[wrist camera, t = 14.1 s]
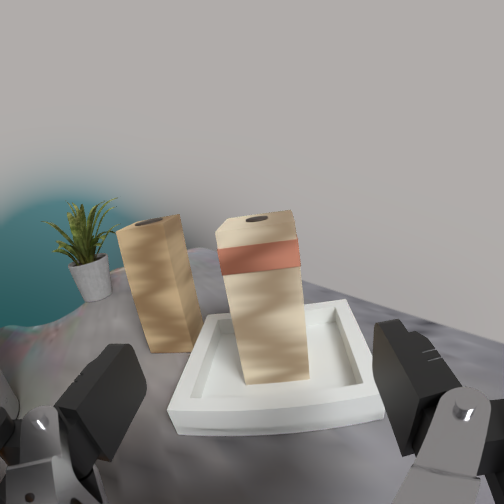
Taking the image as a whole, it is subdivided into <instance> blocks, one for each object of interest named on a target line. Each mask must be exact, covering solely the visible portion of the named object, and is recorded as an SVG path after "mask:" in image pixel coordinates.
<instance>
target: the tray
mask: <svg viewBox="0 0 504 504" xmlns="http://www.w3.org/2000/svg"><path fill="white" fill-rule="evenodd" d="M304 312H305V323H306V335H307V347H308V360H309V375H310V379H308V380H299V381H290V382H279V383H267V384H252V385H246V383H245V379H244V374H243V370H242V365H241V361H240V356H239V351H238V347H237V342H236V337H235V332H234V327H233V323H232V318H231V313H222V314H210V315H208V316H207V318H206V320H205V322H204V325H203V327H202V329H201V332H200V334H199V336H198V339H197V341H196V343H195V345H194V348H193V350H192V352H191V355H190V357H189V359H188V362H187V364H186V366H185V369H184V371H183V373H182V376H181V378H180V380H179V383H178V385H177V387H176V390H175V392H174V394H173V397H172V399H171V401H170V404H169V406H168V408H167V412H168V414H169V416H170V418H171V420H172V423H173V425H174V427H175V429H176V431H177V433H178V435H196V436H255V435H274V434H287V433H298V432H307V431H316V430H324V429H331V428H337V427H344V426H350V425H355V424H361V423H366V422H371V421H376V420H380V419H383V418H384V412H385V407H384V404H383V402H382V399H381V396H380V394H379V391H378V389H377V386H376V384H375V381H374V377H373V371H372V358H373V357H372V354H371V352H370V350H369V348H368V346H367V343H366V341H365V339H364V337H363V335H362V332H361V330H360V328H359V326H358V324H357V322H356V320H355V317H354V315H353V313H352V311H351V309H350V307H349V305H348V303H347V301H346V299H343V300H336V301H328V302H321V303H314V304H306V305H304Z"/></svg>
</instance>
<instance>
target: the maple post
mask: <svg viewBox="0 0 504 504" xmlns="http://www.w3.org/2000/svg"><path fill="white" fill-rule="evenodd" d="M215 234H216V240H217V245H218V249H217V251H218V257H219V262H220V267H221V272H222V276H223V277H224V282H225V288H226V293H227V298H228V303H229V308H230V313H231V318H232V323H233V327H234V332H235V337H236V342H237V347H238V351H239V356H240V361H241V365H242V370H243V374H244V379H245V383H246V385H252V384H267V383H279V382H290V381H299V380H308V379H310V375H309V360H308V347H307V335H306V323H305V312H304V301H303V291H302V281H301V272H300V266H301V263H300V255H299V245H298V238H297V234H296V228H295V221H294V218H293V215H292V211H291V210H286V211H278V212H271V213H263V214H257V215H249V216H241V217H235V218H228V219H227V220H226V221H225V222H224V223H223V224H222V225H221V226H220V227H219V228H218V230H217V231H216V232H215Z"/></svg>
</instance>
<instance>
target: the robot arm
mask: <svg viewBox="0 0 504 504" xmlns="http://www.w3.org/2000/svg"><path fill="white" fill-rule="evenodd" d="M372 371H373V377H374V381H375V384H376V386H377V389H378V391H379V394H380V396H381V399H382V402H383V404H384V407H385V410H386V412H387V415H388V418H389V421H390V423H391V426H392V429H393V432H394V435H395V437H396V440H397V443H398V446H399V449H400V452H401V455H402V457H404V456H407V455H411V454H415V456H416V460H415V462H414V464H413V465H412V466H411V468H410V470H409V472H408V474H407V476H406V478H405V480H404V482H403V483H402V485H401V487H400V489H399V491H398V493H397V494H396V496H395V498H394V500H393V501H392V503H391V504H474V503H475V500H476V497H477V494H478V491H479V487H480V478H478V477H476V476H479V475H485V477H486V480H487V482H488V485H489V487H490V490H491V493H492V496H493V498H494V501H495V504H504V399H499V400H489V399H488V398H487V396H486V395H485V394H484V393H482V392H481V391H479V390H477V389H474V388H470V387H462V385H461V384H460V382H459V381H458V379H457V378H456V376H455V375H454V374H453V372H452V371H451V369H450V368H449V367H448V365H447V364H446V362H445V361H444V360H443V358H441V356H440V354H439V353H438V351H437V350H435V347H434V346H433V345H432V343H431V342H430V341H429V339H428V338H426V337H425V336H423V335H421V334H420V333H418V332H416V331H414V332H408V331H407V329H406V328H405V327H404V325H403V324H402V322H401V321H400V320H399V319H395V320H389V321H384V322H378V323H376V324H375V326H374V341H373V358H372ZM146 390H147V385H146V379H145V377H144V374H143V372H142V369H141V367H140V364H139V362H138V359H137V357H136V354H135V351H134V349H133V347H132V346H131V345H130V344H109V345H108V346H107V347H106V348H105V349H104V350H103V351H102V353H101V354H100V355H99V356H98V357H97V358H96V359H95V360H93V361H92V362H90V363H89V364H88V365H87V366H86V367H85V368H84V369H83V370H82V372H81V373H80V375H78V376H77V378H76V379H75V380H74V382H73V383H72V384H71V385H70V386H69V387H68V389H67V390H66V391H65V392H64V394H63V395H62V396H61V397H60V398H59V400H58V401H57V402H56V403H55V405H54V406H49V405H42V406H38V407H36V408H34V409H32V410H30V411H29V412H28V413H27V414H26V415H25V416H24V418H23V419H16V417H17V415H18V411H19V403H18V399H17V398H16V396H15V394H14V392H13V391H12V389H11V387H10V386H9V384H8V382H7V380H6V378H5V377H4V375H3V373H2V371H1V369H0V456H1V458H2V459H3V460H4V461H5V462H6V463H7V465H8V467H7V469H6V475H5V477H4V478H3V480H2V481H1V483H0V504H109V502H108V499H107V496H106V493H105V490H104V487H103V484H102V481H101V477H100V474H99V470H98V468H97V466H96V465H95V464H94V463H95V462H96V460H97V459H100V460H104V461H108V462H111V461H112V459H113V457H114V455H115V453H116V451H117V449H118V447H119V445H120V443H121V441H122V439H123V437H124V436H125V434H126V432H127V430H128V428H129V426H130V424H131V422H132V420H133V418H134V416H135V414H136V412H137V410H138V408H139V407H140V405H141V403H142V401H143V399H144V397H145V395H146Z"/></svg>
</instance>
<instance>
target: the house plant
mask: <svg viewBox="0 0 504 504" xmlns="http://www.w3.org/2000/svg"><path fill="white" fill-rule="evenodd" d="M112 200H113V199H112ZM109 201H111V200H109ZM109 201H108V202H109ZM108 202H106V203H105V204H104V205H103V206H102V207H101V208H100V210H99V211H98V213H97V215H96V218H95V221H94V224H93V227H92V223H93V220H94V215H95V212H96V208H97V206H98V205H99V204H98V205H96V206H94V207H93V208H92V209H91V211H90V213H89V216H88V220H87V228H86V217H85V212H84V207H83V204H81V207H80V210H79V209H78V207H77V206H76V205H75V204H73V203H72V204H73V206H74V207H75V209H76V213H77V216H76V214H75V212H74V210H73V208H72V207H71V206H70V207H71V209H72V211H73V213H74V216H75V217H74V216H72V214H71V213H67V217H68V221H69V224H70V229H71V232H72V234H73V240H74V243H75V244H74V243H73V241H72V240H71V239H70V238H69V237H68V235H66V234H65V233H64V232H63V231H62V230H61V229H60V228H59V227H58V226H57V225H55V224H54V225H52V224H51V223H48V222H46V223H48V224H50V225H51V226H53V227H54V228H55V229H57V230H58V231H59V232H60V233H61V234H62V235H63V236H64V237H65V238H66V239H67V240H68V241H69V242H70V243H71V244H72V245H73V246H71V245H67V244H66V243H64V242H62V241H56V242H57V243H59V245H60V246H59V247H58V249H57V250H54V252H60V253H63V254H66V255H68V256H69V257H70V258H72V260H73V261H74V262H72V263H70V264H69V265H68V268H69V270H70V272H71V274H72V276H73V279H74V281H75V283H76V285H77V287H78V289H79V291H80V293H81V295H82V297H83V299H84V301H85V302H93V301H98V300H101V299H104V298H106V297H108V296H109V295H110V294H111V293H112V287H111V280H110V272H109V263H108V255H107V254H106V253H100V254H98V252H99V250H100V248H101V245H102V244H103V241H104V240H105V238H106V236H107V235H108V233H109V232H112V233H115V232H113V231H111V229H112V228H113V227H112V228H111V229H110V230H109V231H108V232H107V234H106V235H103V236H101V235H102V234H103V233H106V232H102V233H100V234H98V236H97V237H96V235H97V232H98V229H99V226H100V223H101V221H102V219H103V217H104V216H105V214H106V213H107V212H108V211H109V210H110V209H111V208H110V209H109V210H107V211H106V212H105V213H104V214H103V216H102V218H101V220H100V222H99V225H98V229H97V232H96V235H95V238H94V239H93V237H94V236H92V233H93V229H94V226H95V223H96V221H97V218H98V216H99V214H100V212H101V210H102V209H103V208H104V206H105V205H106V204H107V203H108ZM69 205H70V204H69ZM113 208H114V207H113ZM100 236H101V237H100ZM99 238H101V239H103V241H102V243H97V242H98V240H99ZM96 245H97V246H100V247H99V249H98V252H97V254H95V250H96ZM61 247H64V248H65V249H67V250H68V251H69V252H70V253H71V254H73V255H74V256H75V257H76V258H77V259H78V260H75V258H74V257H73V256H72V255H71V254H70V253H68V252H66V251H65V250H62V249H59V248H61Z"/></svg>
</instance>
